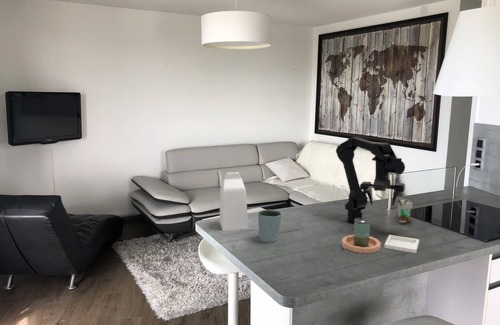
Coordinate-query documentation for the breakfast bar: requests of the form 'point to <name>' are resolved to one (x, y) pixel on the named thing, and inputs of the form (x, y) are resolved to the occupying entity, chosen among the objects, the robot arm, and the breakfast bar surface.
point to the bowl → (373, 247)
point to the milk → (233, 203)
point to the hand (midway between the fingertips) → (382, 205)
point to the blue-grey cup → (269, 225)
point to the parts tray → (402, 243)
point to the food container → (403, 210)
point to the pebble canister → (361, 232)
